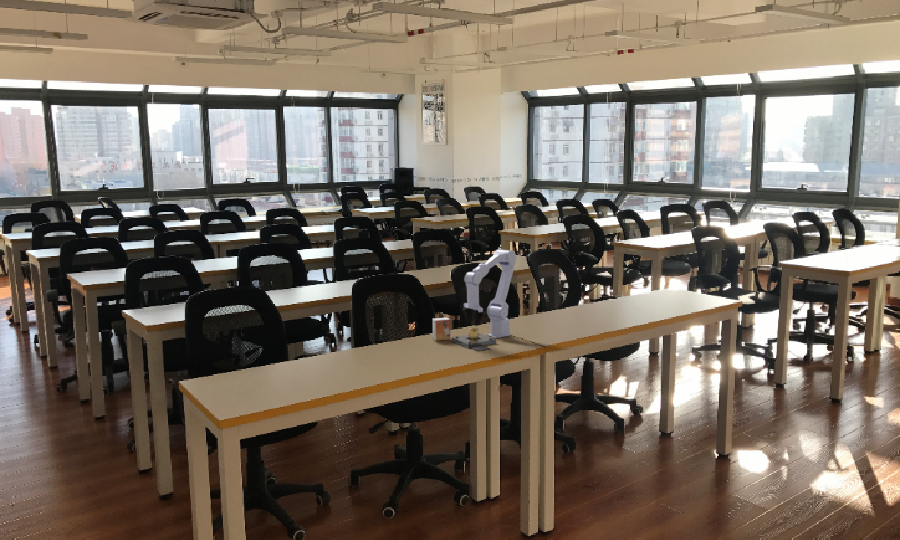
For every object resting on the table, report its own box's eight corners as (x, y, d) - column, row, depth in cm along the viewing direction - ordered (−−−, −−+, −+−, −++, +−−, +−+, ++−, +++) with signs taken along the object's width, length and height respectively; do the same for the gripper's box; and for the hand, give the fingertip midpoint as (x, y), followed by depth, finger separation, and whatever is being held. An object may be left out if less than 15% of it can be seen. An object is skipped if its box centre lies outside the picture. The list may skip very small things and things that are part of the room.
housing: (479, 336, 361) (478, 332, 361) (496, 343, 348) (496, 338, 347) (451, 341, 354) (451, 336, 353) (468, 348, 340) (468, 343, 339)
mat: (482, 346, 343) (482, 345, 343) (490, 349, 337) (490, 348, 337) (470, 348, 340) (470, 347, 340) (478, 351, 334) (478, 350, 334)
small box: (435, 341, 355) (434, 320, 353) (432, 338, 360) (432, 318, 358) (450, 339, 357) (450, 319, 355) (447, 337, 362) (447, 317, 360)
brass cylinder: (475, 340, 354) (475, 327, 353) (480, 342, 350) (479, 328, 349) (467, 342, 351) (467, 328, 350) (472, 344, 347) (471, 330, 346)
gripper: (458, 295, 351) (458, 322, 353) (473, 300, 339) (474, 327, 341) (470, 293, 355) (471, 320, 357) (486, 298, 342) (486, 326, 344)
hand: (473, 324), depth 349 cm, fingers open, 7 cm apart
